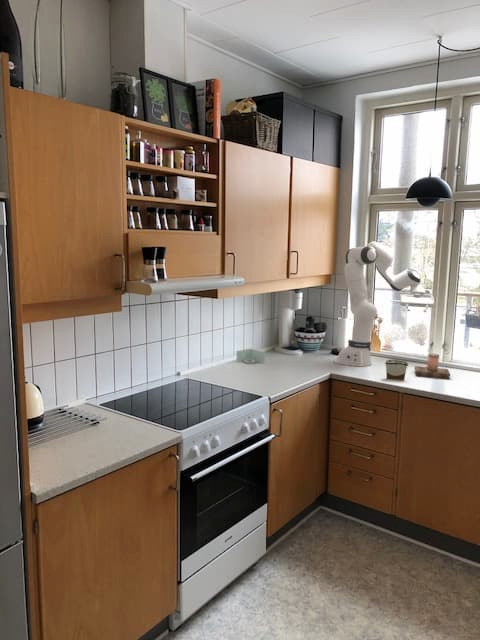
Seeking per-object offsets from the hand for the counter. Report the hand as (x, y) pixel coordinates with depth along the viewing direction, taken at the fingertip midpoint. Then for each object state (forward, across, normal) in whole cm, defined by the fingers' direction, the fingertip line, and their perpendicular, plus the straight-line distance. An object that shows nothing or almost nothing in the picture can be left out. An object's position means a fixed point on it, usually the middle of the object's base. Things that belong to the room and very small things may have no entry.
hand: (416, 311), depth 316 cm
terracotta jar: (+40, +9, +2) cm, 41 cm away
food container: (+54, -12, -7) cm, 56 cm away
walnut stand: (+43, +9, +5) cm, 44 cm away
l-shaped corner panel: (+51, -96, -3) cm, 108 cm away
